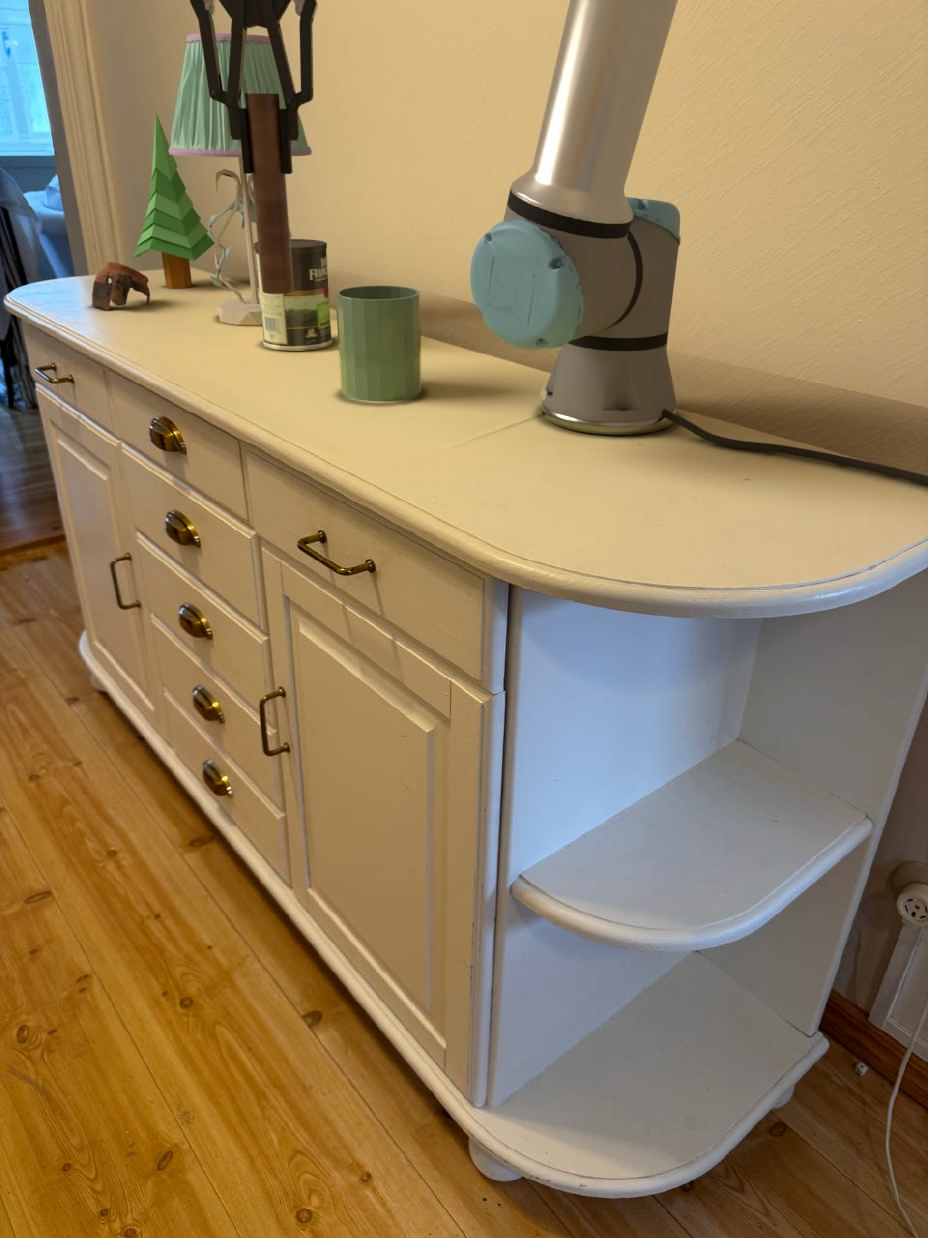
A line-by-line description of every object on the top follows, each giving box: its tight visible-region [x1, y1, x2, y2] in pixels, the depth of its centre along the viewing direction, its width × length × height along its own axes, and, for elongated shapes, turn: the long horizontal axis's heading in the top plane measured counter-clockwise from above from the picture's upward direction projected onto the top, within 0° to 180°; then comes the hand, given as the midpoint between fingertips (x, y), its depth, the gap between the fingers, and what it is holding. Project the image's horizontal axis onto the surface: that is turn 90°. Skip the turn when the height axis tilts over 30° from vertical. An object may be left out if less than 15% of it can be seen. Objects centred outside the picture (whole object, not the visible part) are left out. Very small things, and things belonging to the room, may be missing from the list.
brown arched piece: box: [91, 261, 151, 311], centre depth 161 cm, size 12×10×8 cm
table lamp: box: [169, 33, 313, 326], centre depth 145 cm, size 22×22×40 cm
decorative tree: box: [132, 112, 216, 289], centre depth 174 cm, size 14×16×30 cm
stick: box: [245, 93, 294, 294], centre depth 108 cm, size 4×4×21 cm
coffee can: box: [253, 238, 333, 352], centre depth 135 cm, size 10×10×14 cm
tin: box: [335, 284, 423, 402], centre depth 112 cm, size 10×10×12 cm
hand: (268, 172), depth 106 cm, fingers closed on stick, 4 cm apart
